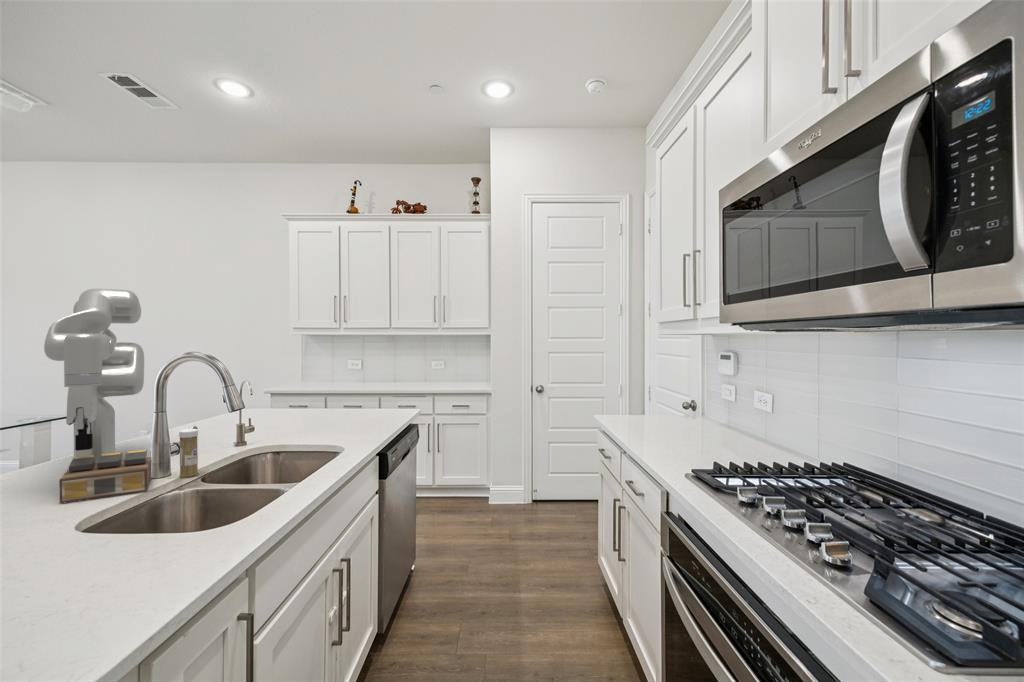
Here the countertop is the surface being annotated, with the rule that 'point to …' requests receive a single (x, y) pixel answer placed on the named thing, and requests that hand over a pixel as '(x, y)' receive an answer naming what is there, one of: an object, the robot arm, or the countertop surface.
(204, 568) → the countertop surface
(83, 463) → the rocker
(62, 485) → the switch unit
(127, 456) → the rocker
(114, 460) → the rocker
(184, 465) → the sprinkles bottle
